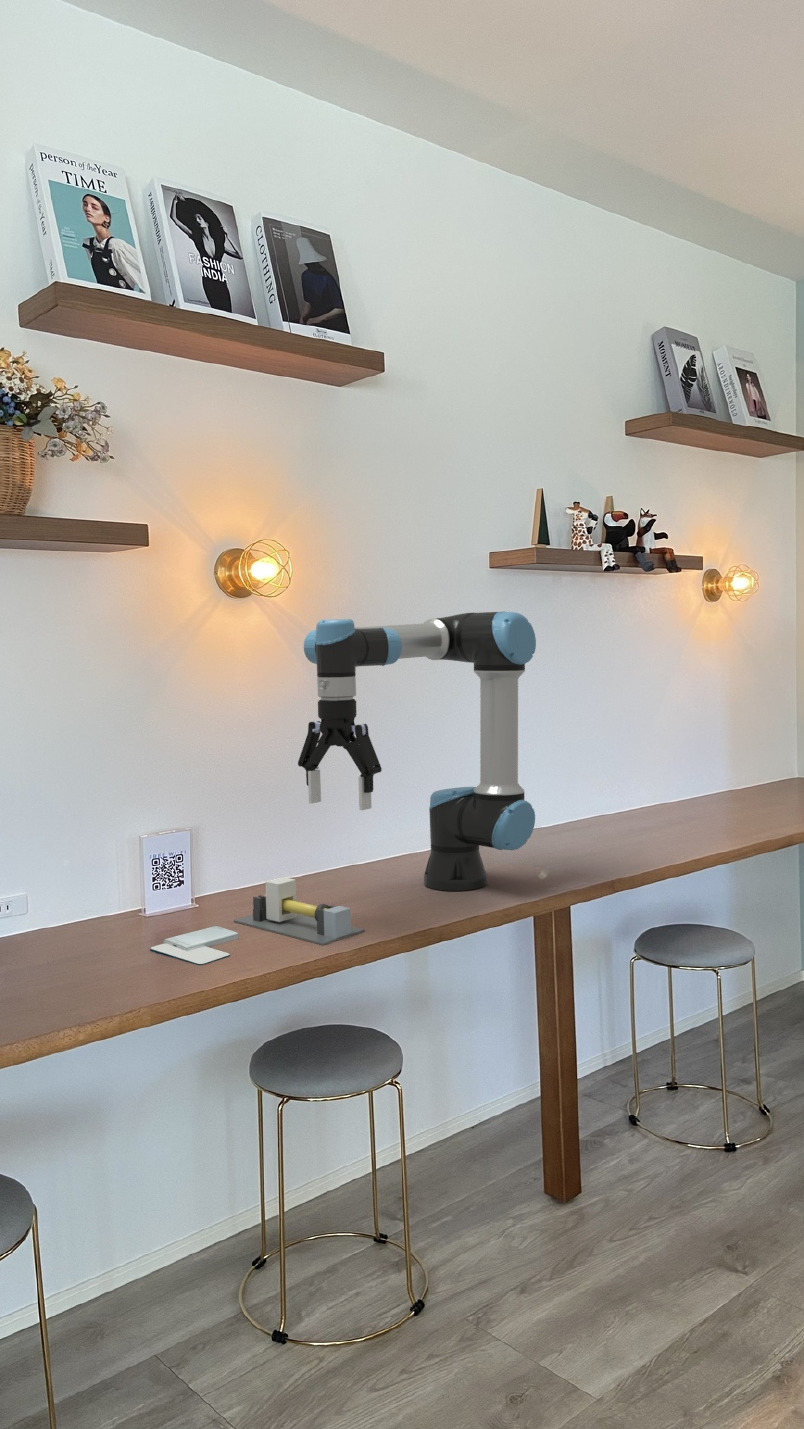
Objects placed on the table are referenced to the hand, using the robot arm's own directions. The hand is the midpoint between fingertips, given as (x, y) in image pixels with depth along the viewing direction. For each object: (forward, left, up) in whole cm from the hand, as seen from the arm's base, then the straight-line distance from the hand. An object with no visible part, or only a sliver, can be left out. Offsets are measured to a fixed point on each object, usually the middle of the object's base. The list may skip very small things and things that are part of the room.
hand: (339, 806), depth 209 cm
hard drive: (+18, -22, -28) cm, 40 cm away
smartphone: (+24, -18, -28) cm, 41 cm away
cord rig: (-1, -14, -27) cm, 30 cm away
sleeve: (-1, -19, -26) cm, 32 cm away
